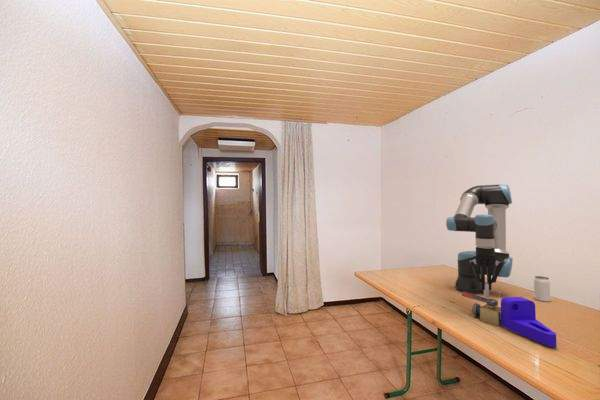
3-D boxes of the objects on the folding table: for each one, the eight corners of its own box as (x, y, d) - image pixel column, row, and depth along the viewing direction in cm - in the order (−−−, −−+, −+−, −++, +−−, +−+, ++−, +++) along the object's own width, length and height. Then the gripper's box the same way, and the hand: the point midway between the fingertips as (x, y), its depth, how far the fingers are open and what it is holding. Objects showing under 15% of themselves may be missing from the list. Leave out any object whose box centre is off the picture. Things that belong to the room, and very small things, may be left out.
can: (553, 302, 142) (553, 279, 142) (539, 301, 143) (538, 278, 143) (545, 298, 148) (544, 276, 148) (531, 297, 149) (531, 275, 150)
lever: (499, 304, 119) (499, 300, 119) (494, 306, 117) (494, 302, 117) (465, 294, 133) (465, 291, 133) (460, 296, 131) (460, 292, 131)
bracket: (501, 325, 115) (500, 297, 115) (526, 324, 115) (525, 296, 115) (539, 347, 97) (538, 314, 97) (569, 346, 97) (568, 313, 97)
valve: (471, 318, 124) (471, 302, 124) (478, 314, 127) (478, 298, 128) (508, 329, 112) (507, 311, 112) (515, 325, 116) (514, 308, 116)
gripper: (498, 246, 130) (500, 295, 129) (467, 245, 134) (468, 292, 134) (504, 248, 123) (505, 300, 122) (470, 247, 127) (472, 297, 127)
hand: (486, 296), depth 128 cm, fingers closed
